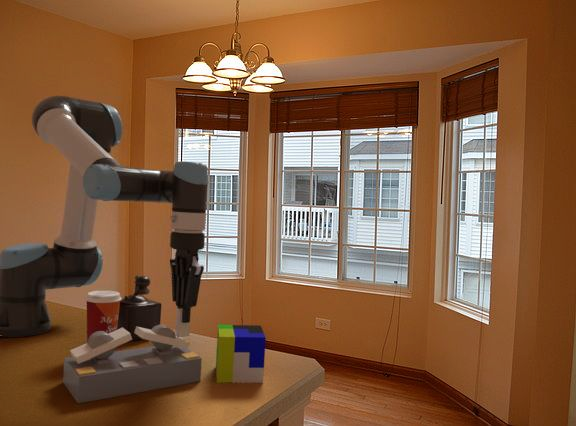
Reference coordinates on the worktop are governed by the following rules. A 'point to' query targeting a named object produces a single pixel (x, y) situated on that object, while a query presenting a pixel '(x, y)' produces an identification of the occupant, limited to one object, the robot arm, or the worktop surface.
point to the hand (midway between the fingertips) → (182, 335)
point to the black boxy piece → (138, 309)
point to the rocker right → (161, 337)
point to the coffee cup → (102, 311)
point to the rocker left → (100, 345)
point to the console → (130, 372)
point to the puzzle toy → (240, 354)
